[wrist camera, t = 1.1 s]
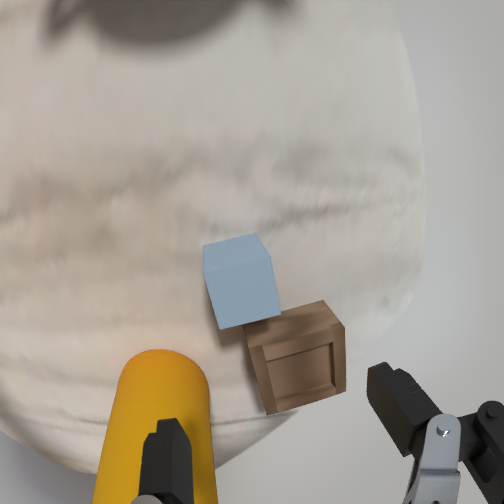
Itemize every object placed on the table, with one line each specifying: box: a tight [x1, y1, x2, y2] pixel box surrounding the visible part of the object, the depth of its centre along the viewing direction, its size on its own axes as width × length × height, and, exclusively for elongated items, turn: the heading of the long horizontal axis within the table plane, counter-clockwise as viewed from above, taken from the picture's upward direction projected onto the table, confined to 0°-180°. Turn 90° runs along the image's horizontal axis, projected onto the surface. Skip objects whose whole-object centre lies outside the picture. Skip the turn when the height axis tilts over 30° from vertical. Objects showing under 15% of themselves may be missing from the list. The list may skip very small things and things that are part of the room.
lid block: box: [203, 233, 281, 330], centre depth 23 cm, size 4×4×6 cm
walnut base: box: [243, 300, 346, 415], centre depth 27 cm, size 8×8×5 cm
